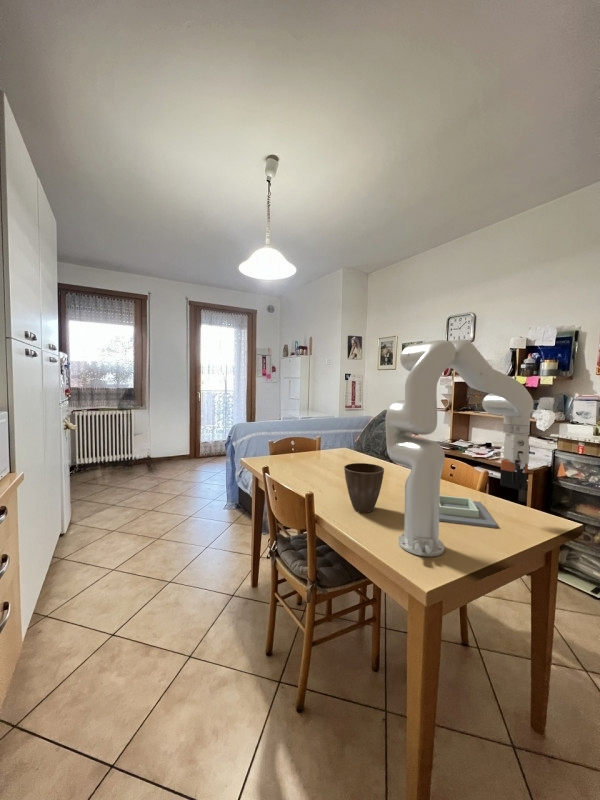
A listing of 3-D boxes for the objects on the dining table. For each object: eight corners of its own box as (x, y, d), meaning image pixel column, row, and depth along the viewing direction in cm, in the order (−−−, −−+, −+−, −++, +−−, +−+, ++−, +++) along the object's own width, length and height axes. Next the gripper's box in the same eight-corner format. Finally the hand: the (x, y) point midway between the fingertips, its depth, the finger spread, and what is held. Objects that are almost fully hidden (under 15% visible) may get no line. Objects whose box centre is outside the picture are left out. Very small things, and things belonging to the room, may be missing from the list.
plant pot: (347, 499, 130) (348, 461, 129) (385, 504, 125) (385, 464, 124) (340, 513, 116) (340, 470, 115) (381, 519, 111) (382, 474, 110)
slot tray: (497, 528, 104) (497, 517, 104) (425, 519, 111) (426, 509, 111) (480, 504, 125) (480, 495, 125) (421, 498, 132) (421, 490, 132)
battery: (505, 483, 113) (507, 456, 113) (527, 489, 107) (528, 459, 107) (499, 485, 111) (500, 457, 111) (520, 490, 105) (522, 461, 105)
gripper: (539, 433, 99) (536, 489, 100) (519, 427, 116) (516, 475, 116) (512, 431, 101) (509, 486, 102) (496, 426, 118) (493, 473, 119)
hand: (513, 480), depth 109 cm, fingers closed on battery, 7 cm apart
